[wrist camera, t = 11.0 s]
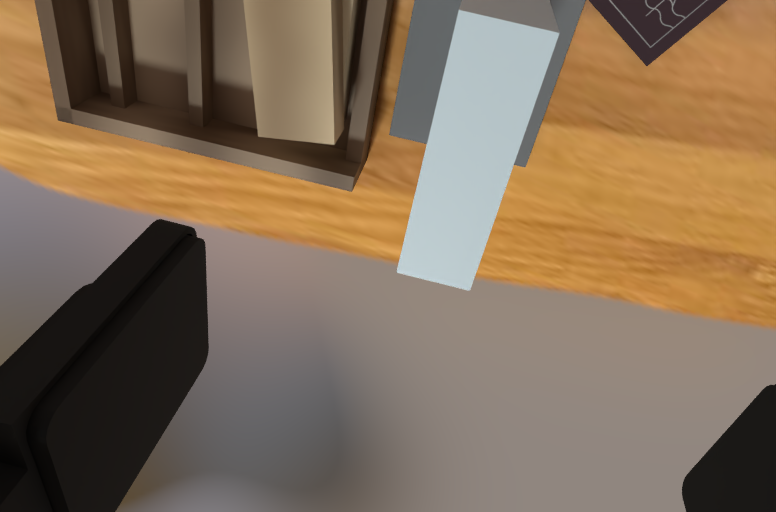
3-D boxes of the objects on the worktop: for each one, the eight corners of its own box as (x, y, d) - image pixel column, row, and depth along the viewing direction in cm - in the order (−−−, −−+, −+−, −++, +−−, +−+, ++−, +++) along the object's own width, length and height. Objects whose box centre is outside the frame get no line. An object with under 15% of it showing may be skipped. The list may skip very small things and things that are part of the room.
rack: (410, -102, 23) (396, -97, 20) (366, 160, 30) (352, 191, 27) (60, -180, 23) (-2, -186, 20) (99, 96, 30) (57, 120, 27)
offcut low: (366, -38, 23) (357, -31, 22) (345, 118, 28) (336, 132, 26) (286, -56, 23) (271, -50, 22) (277, 102, 28) (264, 115, 26)
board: (536, -41, 23) (559, 32, 13) (482, 139, 27) (469, 290, 18) (479, -54, 23) (458, 10, 13) (435, 127, 27) (396, 272, 18)
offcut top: (342, -23, 22) (330, -15, 21) (344, 128, 26) (334, 144, 24) (258, -29, 23) (240, -22, 21) (271, 121, 26) (258, 136, 25)
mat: (604, -59, 22) (606, -57, 22) (525, 162, 28) (525, 167, 28) (434, -97, 23) (432, -96, 22) (391, 130, 29) (389, 135, 28)
